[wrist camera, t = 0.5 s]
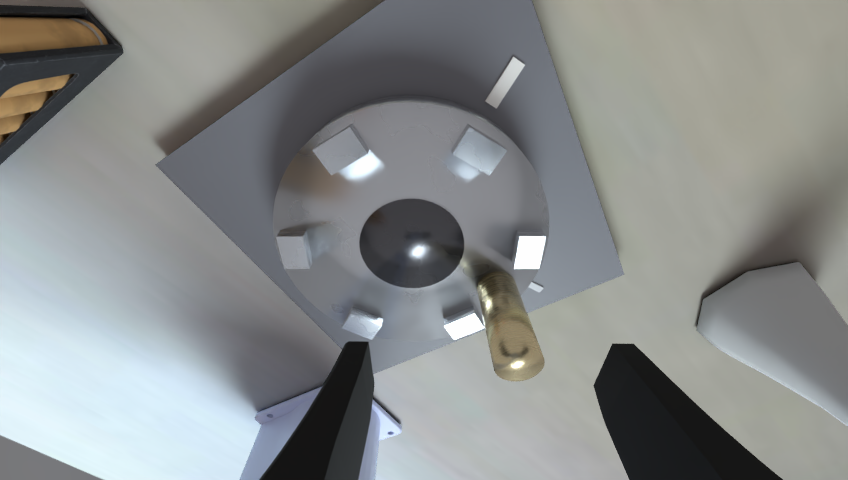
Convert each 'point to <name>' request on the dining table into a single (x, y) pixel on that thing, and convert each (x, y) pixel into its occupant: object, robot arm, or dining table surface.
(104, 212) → the dining table surface
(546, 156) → the cap plate
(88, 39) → the ammunition clip
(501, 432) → the dining table surface
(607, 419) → the robot arm
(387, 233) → the crank wheel with handle
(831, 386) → the flask
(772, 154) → the dining table surface
